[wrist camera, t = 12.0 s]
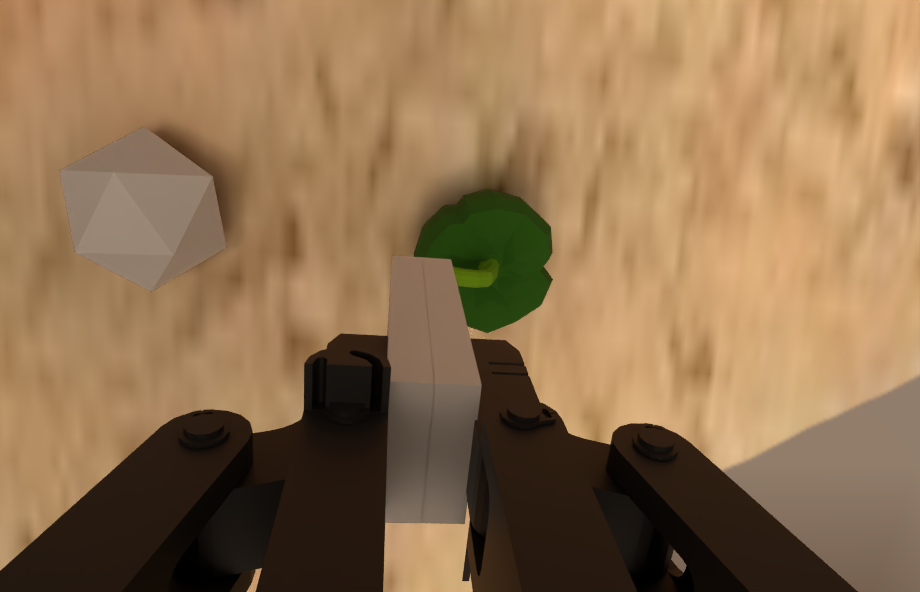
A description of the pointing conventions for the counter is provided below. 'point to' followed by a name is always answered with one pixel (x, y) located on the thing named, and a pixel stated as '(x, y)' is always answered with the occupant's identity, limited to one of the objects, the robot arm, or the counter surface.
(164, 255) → the die
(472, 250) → the bell pepper
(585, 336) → the counter surface
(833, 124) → the counter surface
